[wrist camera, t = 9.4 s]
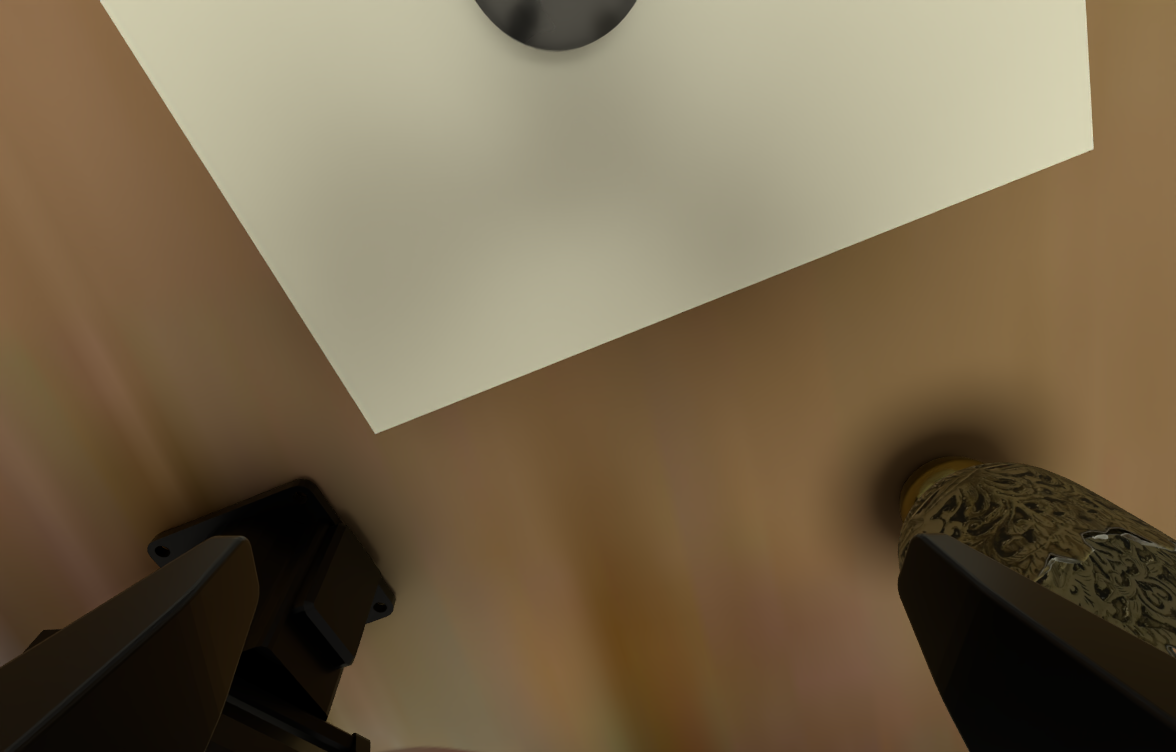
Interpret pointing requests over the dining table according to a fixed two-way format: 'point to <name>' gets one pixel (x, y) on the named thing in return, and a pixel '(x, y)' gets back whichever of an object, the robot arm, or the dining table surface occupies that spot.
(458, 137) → the dial plate
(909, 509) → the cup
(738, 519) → the dining table surface
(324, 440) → the dining table surface
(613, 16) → the dark knobbed cylinder
